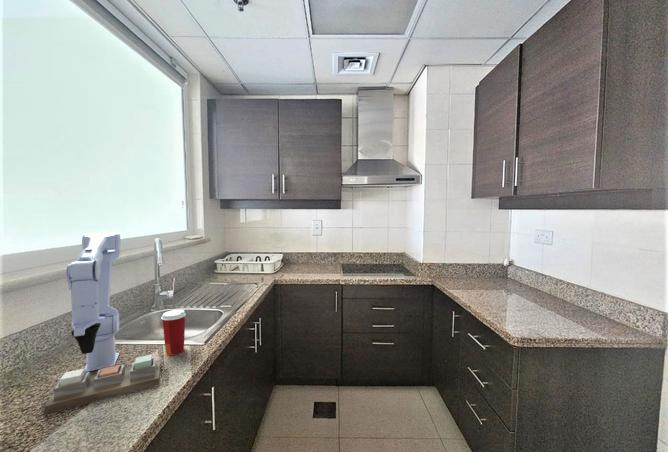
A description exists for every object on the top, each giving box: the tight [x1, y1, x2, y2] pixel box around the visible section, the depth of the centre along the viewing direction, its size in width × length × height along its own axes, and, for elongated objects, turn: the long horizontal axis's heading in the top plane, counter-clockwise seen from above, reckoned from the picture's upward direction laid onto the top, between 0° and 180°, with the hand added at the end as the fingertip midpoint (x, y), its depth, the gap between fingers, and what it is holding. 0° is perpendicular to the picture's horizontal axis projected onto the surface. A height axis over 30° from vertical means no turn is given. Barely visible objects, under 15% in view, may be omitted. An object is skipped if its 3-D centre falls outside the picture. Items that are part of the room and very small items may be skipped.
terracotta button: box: [99, 364, 121, 378], centre depth 82 cm, size 4×4×2 cm
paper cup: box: [160, 309, 187, 356], centre depth 102 cm, size 8×8×14 cm
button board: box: [43, 357, 162, 415], centre depth 82 cm, size 12×24×4 cm, turn 119°
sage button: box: [134, 354, 153, 370], centre depth 86 cm, size 4×4×2 cm
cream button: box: [59, 368, 85, 386], centre depth 78 cm, size 4×4×2 cm
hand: (87, 352), depth 81 cm, fingers closed
